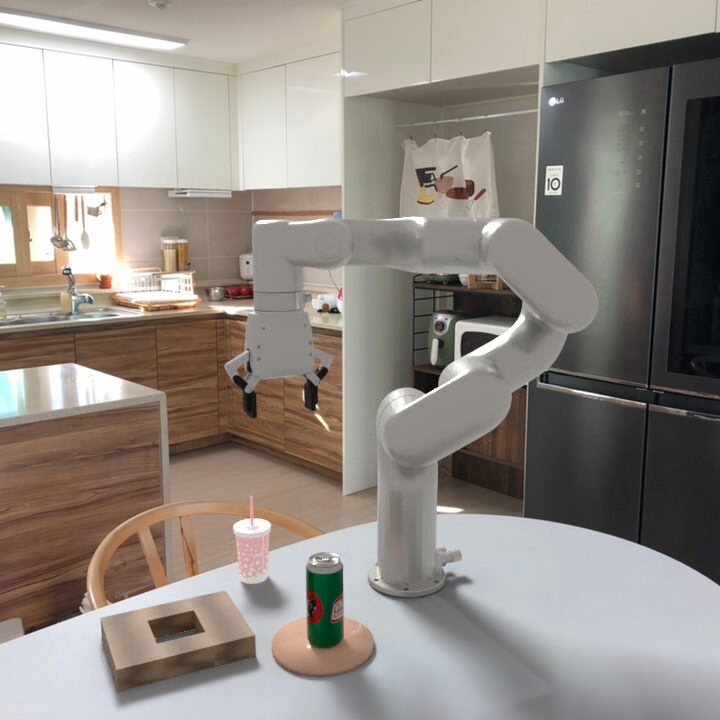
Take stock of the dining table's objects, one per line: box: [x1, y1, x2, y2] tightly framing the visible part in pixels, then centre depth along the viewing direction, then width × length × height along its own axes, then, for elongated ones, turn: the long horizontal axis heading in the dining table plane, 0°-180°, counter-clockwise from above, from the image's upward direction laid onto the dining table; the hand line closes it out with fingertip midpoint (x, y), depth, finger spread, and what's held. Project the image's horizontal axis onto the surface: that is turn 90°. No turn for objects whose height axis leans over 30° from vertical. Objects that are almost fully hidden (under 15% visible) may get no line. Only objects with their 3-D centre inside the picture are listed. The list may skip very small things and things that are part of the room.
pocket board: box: [100, 589, 257, 692], centre depth 105 cm, size 18×14×3 cm
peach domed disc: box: [271, 616, 375, 677], centre depth 105 cm, size 14×14×1 cm
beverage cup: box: [232, 495, 272, 585], centre depth 124 cm, size 6×6×14 cm
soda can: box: [305, 551, 345, 648], centre depth 104 cm, size 5×5×12 cm
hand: (281, 412), depth 119 cm, fingers open, 9 cm apart
